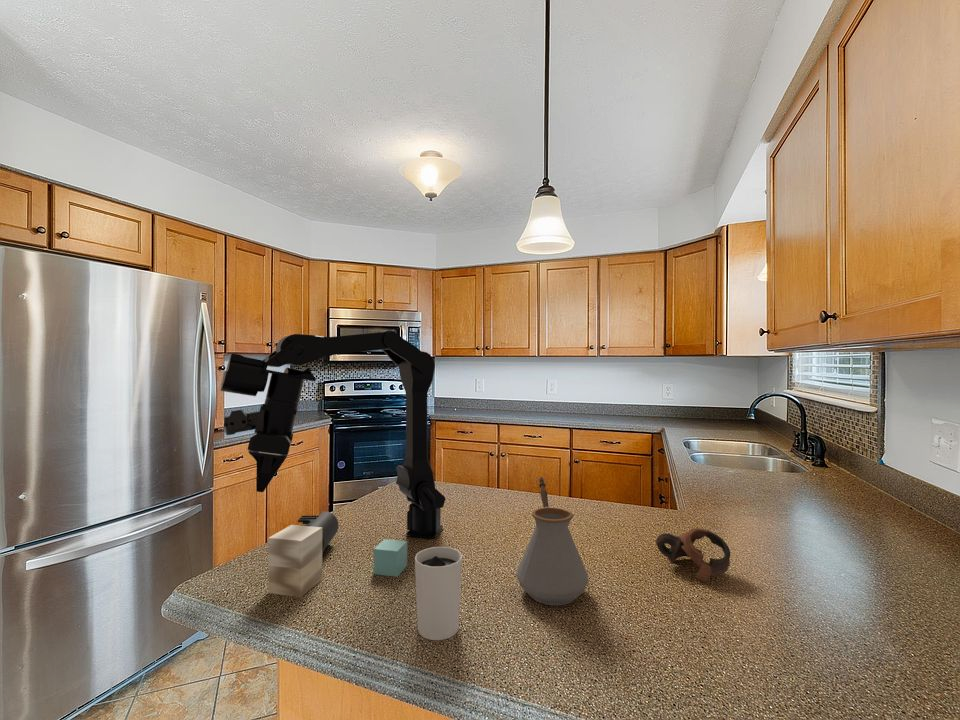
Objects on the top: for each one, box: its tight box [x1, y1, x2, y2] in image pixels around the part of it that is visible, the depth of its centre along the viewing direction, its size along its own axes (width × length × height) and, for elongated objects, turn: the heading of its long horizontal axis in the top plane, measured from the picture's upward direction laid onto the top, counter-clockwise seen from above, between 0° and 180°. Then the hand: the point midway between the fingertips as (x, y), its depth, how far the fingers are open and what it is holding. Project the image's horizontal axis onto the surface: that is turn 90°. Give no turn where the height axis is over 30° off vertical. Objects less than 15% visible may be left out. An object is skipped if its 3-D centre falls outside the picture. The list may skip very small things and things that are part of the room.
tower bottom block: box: [267, 553, 323, 598], centre depth 74 cm, size 6×6×4 cm
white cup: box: [414, 546, 463, 641], centre depth 63 cm, size 7×7×10 cm
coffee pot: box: [516, 476, 589, 606], centre depth 77 cm, size 21×12×15 cm, turn 179°
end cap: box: [297, 510, 339, 553], centre depth 87 cm, size 10×7×7 cm
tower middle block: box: [267, 524, 323, 569], centre depth 75 cm, size 6×6×4 cm
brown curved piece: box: [655, 528, 731, 583], centre depth 80 cm, size 12×10×8 cm
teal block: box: [373, 538, 408, 578], centre depth 80 cm, size 4×4×4 cm
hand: (262, 486), depth 80 cm, fingers open, 9 cm apart
